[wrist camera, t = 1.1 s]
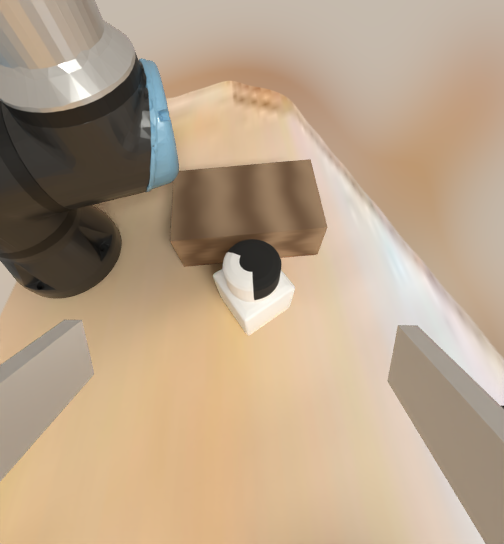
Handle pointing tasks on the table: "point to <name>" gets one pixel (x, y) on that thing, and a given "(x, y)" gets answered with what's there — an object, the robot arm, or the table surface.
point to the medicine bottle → (253, 284)
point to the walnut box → (246, 210)
